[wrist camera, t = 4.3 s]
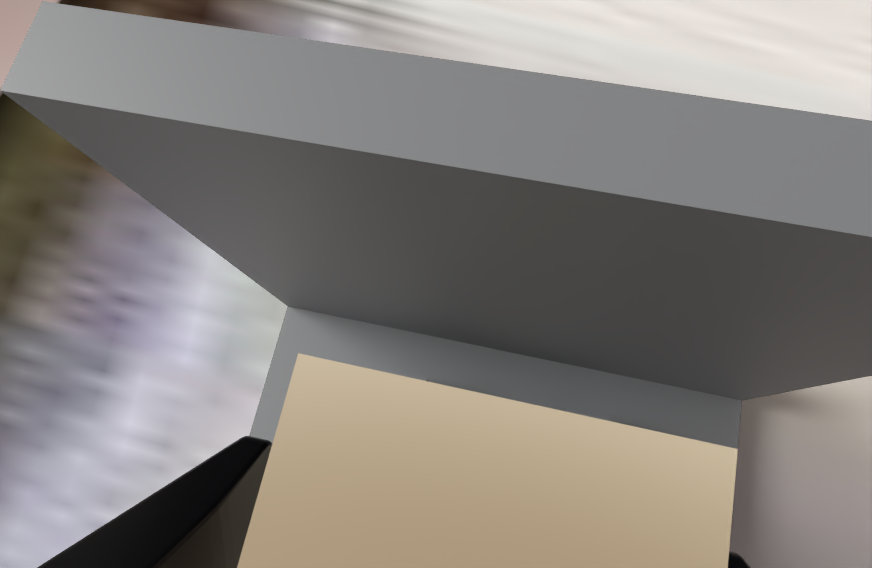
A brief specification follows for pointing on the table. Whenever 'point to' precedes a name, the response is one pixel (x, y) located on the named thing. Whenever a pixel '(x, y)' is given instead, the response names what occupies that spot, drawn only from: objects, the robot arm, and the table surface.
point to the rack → (486, 215)
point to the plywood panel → (477, 483)
